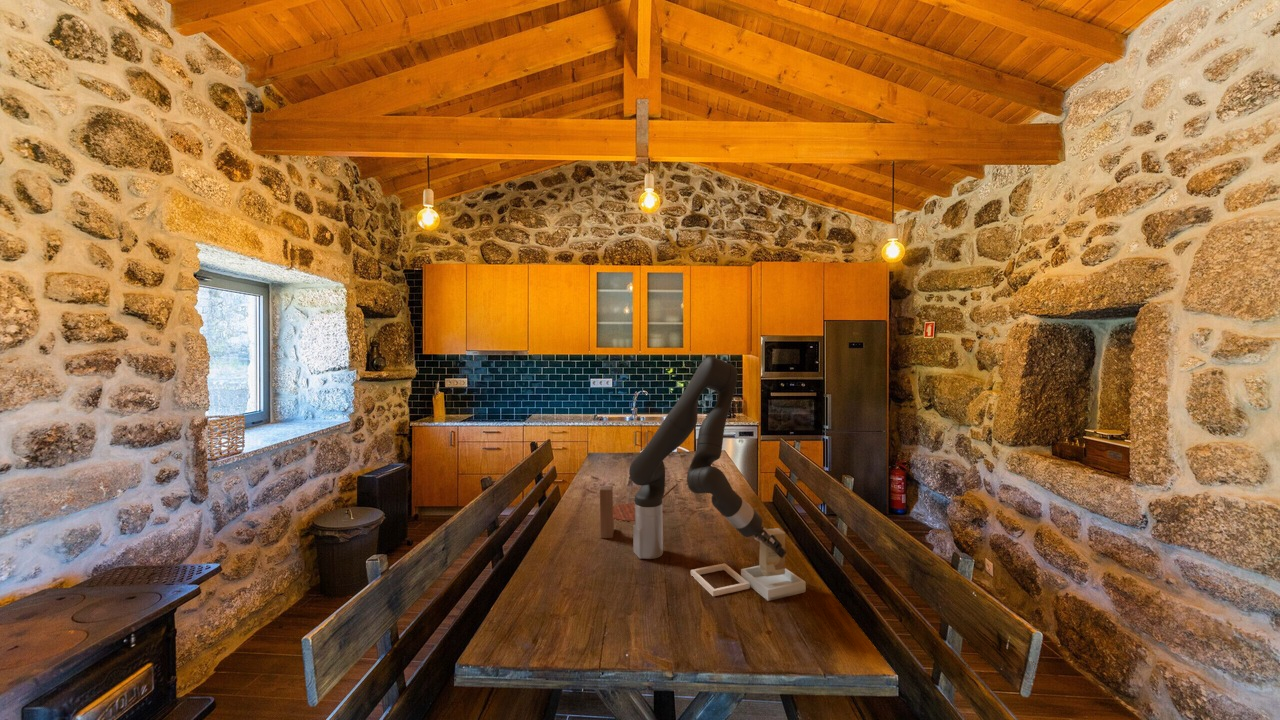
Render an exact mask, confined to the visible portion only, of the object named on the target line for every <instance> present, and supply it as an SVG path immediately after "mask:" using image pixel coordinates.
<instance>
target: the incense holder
mask: <svg viewBox="0 0 1280 720" xmlns="http://www.w3.org/2000/svg"><path fill="white" fill-rule="evenodd" d="M677 486H678V483H675V485H674V486H672V487H671V488H670V489H669V490H668V491H667V492H666V493H664V496H663V498H662V500H663V499H664V498H665V497H666V496H667V495H668V494H670V492H671V491H672V490H674V489H675V488H676V487H677ZM613 518H614V520H615V519H616V521H619V520H622V521H621V522H625V521H635V502H633V503H621V504H617V505H613Z"/></svg>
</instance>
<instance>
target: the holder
mask: <svg viewBox="0 0 1280 720" xmlns="http://www.w3.org/2000/svg"><path fill="white" fill-rule="evenodd" d="M719 571H725V572H726V573H727V574H728V575H729V576H730V577H732V578H733V579H734V580H735V581H737V583H735V584H730V585H726V586H720V587H718V588H714V587H713V586H712V585H711V584H710V583H709V582H708V581H707V580H705V579H704V578H703V577H702V576H701V575H705V574H709V573H715V572H719ZM690 575H691V577H692V576H693V577H694V578H693V577H692V578H693V579H694V580H695V581H696V582H698V583H699V584H700V586H702V588H704V590H705V591H707V592H708V593H709V594H710V595H711V596H712V597H716V596H717V597H718V596H722V595H726V594H731V593H735V592H740V591H744V590H749V589H751V587H750V583H749V582H748V581H746V580H745V579H744V578H743V577H741V574H739V573H738V572H737V571H735V570H734V569H733V568H732V567H730V566H729V565H728V564H727V563H720V564H714V565H709V566H704V567H698V568H695V569H690Z"/></svg>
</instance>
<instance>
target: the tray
mask: <svg viewBox="0 0 1280 720" xmlns="http://www.w3.org/2000/svg"><path fill="white" fill-rule="evenodd" d="M740 576H741V577H743V578H744V579H745V580H746V581H748V582H749V583H750V588H751V589H753V590H754V591H755V592H756V593H758V595H760V596H761V597H762V598H764V599H765V600H766V601H767V602H769V601H774V600H778V599H782V598H787V597H790V596H795V595H799V594H802V593H803V594H804V593H806V590H807V589H806V583H807V582H806V581H805V580H804V579H802V578H801V577H799V576H798V575H796V574H795V573H793V572H792V571H790V570H789V569H788V568H786V567H785V574H782V575H775V576H765V575H764V574H763V573H762V572H761V571H760V570H759V565H755V566H751V567H750V566H749V567H745V568H741V569H740Z"/></svg>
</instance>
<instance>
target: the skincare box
mask: <svg viewBox="0 0 1280 720" xmlns="http://www.w3.org/2000/svg"><path fill="white" fill-rule="evenodd" d="M766 529H767V530H768V532H769V533H770V534H771V535H774V537H775V538H776V539H777V540H778V541H779V542H780V543H781V545H782V548H783V549H784V550H785V551H786V532H785V531H784V530H782V529H781V528H779V527H776V528H766ZM766 542H767V541H765V543H766ZM758 562H759V565H758V566H759V570H760V571H761V572H762V573H763V574H764V575H765V576H775V575H782V574H785V568H786V554H785V555H784V557H783V558H781V557H779V556H778V555H777V554H776V553H775V552H774V551H773V550H772V549H771V548H770V547H767V546H765V545H764V544H763V543H761V542H759V561H758Z"/></svg>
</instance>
